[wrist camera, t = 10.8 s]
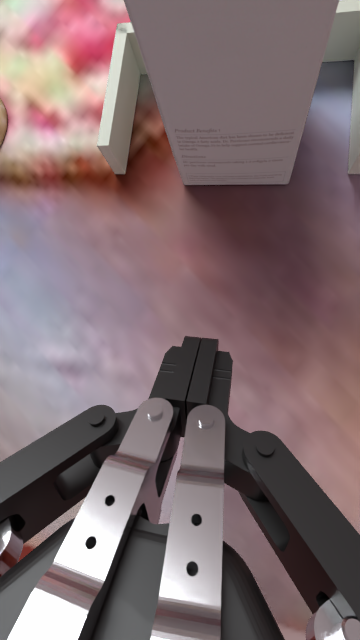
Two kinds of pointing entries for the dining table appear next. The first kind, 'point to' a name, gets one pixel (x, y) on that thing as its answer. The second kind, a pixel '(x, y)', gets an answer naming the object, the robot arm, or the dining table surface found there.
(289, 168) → the supplement box
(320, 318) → the dining table surface
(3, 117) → the hand bell
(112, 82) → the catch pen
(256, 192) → the dining table surface
